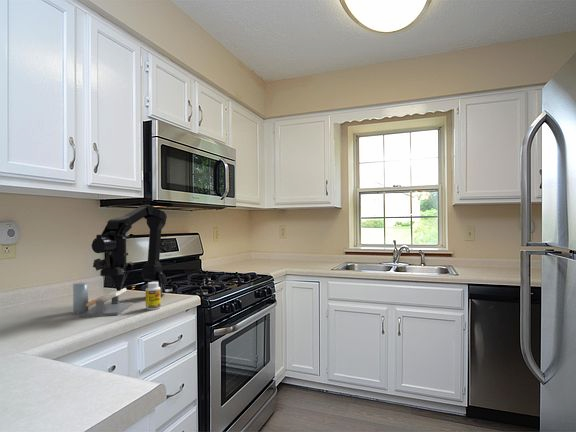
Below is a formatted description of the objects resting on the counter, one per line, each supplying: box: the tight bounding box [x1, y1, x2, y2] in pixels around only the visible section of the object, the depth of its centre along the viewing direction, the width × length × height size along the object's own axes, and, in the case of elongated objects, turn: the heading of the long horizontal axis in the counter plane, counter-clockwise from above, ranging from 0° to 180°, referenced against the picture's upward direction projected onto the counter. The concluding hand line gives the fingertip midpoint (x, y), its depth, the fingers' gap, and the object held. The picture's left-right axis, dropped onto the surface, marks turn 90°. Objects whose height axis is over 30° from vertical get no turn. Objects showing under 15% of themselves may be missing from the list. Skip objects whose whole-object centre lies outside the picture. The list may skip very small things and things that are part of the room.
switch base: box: [79, 295, 134, 318], centre depth 132 cm, size 16×13×6 cm
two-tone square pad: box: [86, 287, 127, 308], centre depth 132 cm, size 12×11×2 cm
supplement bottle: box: [145, 282, 162, 311], centre depth 134 cm, size 6×6×10 cm
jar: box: [72, 281, 89, 315], centre depth 130 cm, size 5×5×11 cm
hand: (118, 290), depth 132 cm, fingers closed
